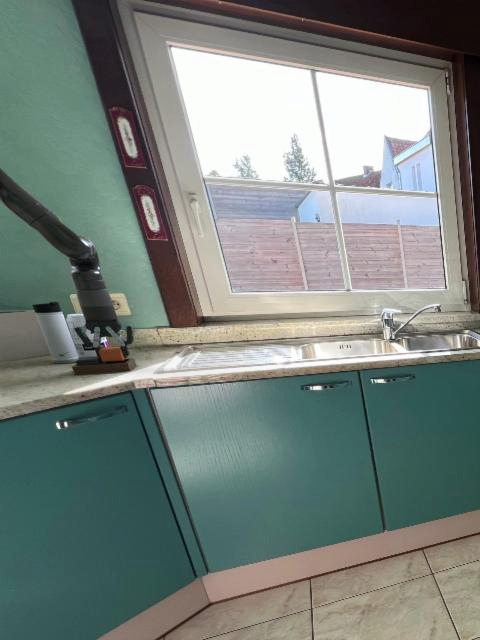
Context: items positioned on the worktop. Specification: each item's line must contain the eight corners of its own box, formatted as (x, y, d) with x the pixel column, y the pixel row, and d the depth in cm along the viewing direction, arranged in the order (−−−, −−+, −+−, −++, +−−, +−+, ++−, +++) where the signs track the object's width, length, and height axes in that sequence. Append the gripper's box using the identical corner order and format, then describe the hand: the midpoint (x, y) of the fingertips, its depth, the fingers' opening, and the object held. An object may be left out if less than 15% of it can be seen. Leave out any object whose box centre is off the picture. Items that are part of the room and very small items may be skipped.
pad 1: (79, 371, 154) (75, 360, 153) (85, 367, 159) (81, 357, 158) (101, 370, 157) (97, 359, 156) (106, 366, 162) (102, 356, 160)
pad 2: (102, 361, 156) (98, 350, 155) (107, 358, 161) (103, 347, 160) (123, 360, 159) (119, 349, 158) (127, 357, 164) (124, 346, 162)
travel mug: (68, 364, 166) (45, 302, 158) (48, 363, 166) (24, 302, 158) (86, 360, 172) (64, 301, 164) (67, 359, 171) (44, 300, 164)
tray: (74, 374, 153) (71, 366, 152) (83, 369, 160) (80, 361, 159) (130, 371, 159) (127, 363, 158) (136, 365, 167) (134, 358, 166)
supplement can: (91, 355, 179) (76, 313, 174) (117, 355, 181) (103, 313, 175) (74, 359, 172) (57, 315, 166) (101, 359, 173) (86, 316, 168)
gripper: (60, 306, 147) (81, 362, 153) (124, 304, 154) (141, 358, 160) (68, 303, 153) (88, 357, 159) (129, 302, 160) (145, 354, 166)
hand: (114, 357), depth 160 cm, fingers closed on pad 2, 5 cm apart
